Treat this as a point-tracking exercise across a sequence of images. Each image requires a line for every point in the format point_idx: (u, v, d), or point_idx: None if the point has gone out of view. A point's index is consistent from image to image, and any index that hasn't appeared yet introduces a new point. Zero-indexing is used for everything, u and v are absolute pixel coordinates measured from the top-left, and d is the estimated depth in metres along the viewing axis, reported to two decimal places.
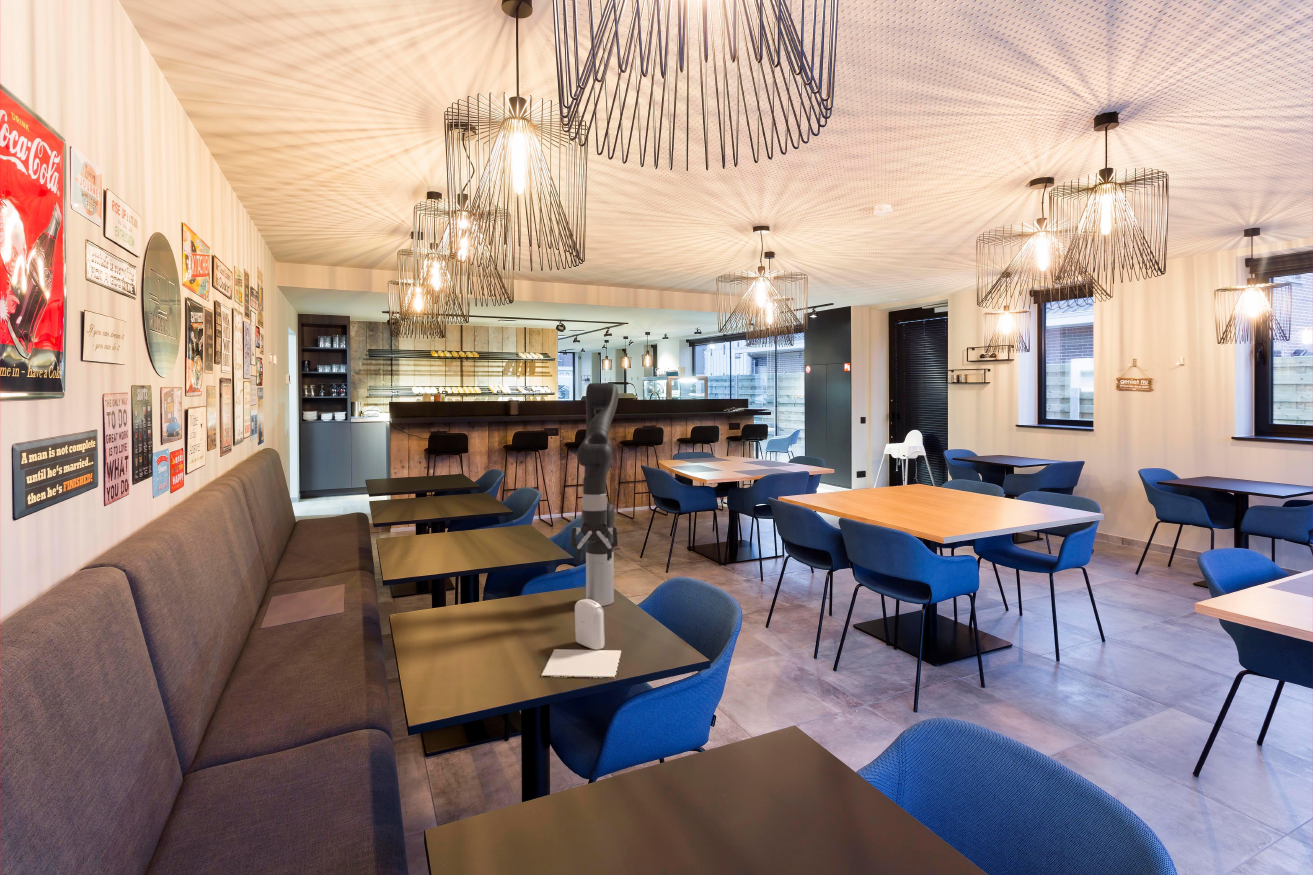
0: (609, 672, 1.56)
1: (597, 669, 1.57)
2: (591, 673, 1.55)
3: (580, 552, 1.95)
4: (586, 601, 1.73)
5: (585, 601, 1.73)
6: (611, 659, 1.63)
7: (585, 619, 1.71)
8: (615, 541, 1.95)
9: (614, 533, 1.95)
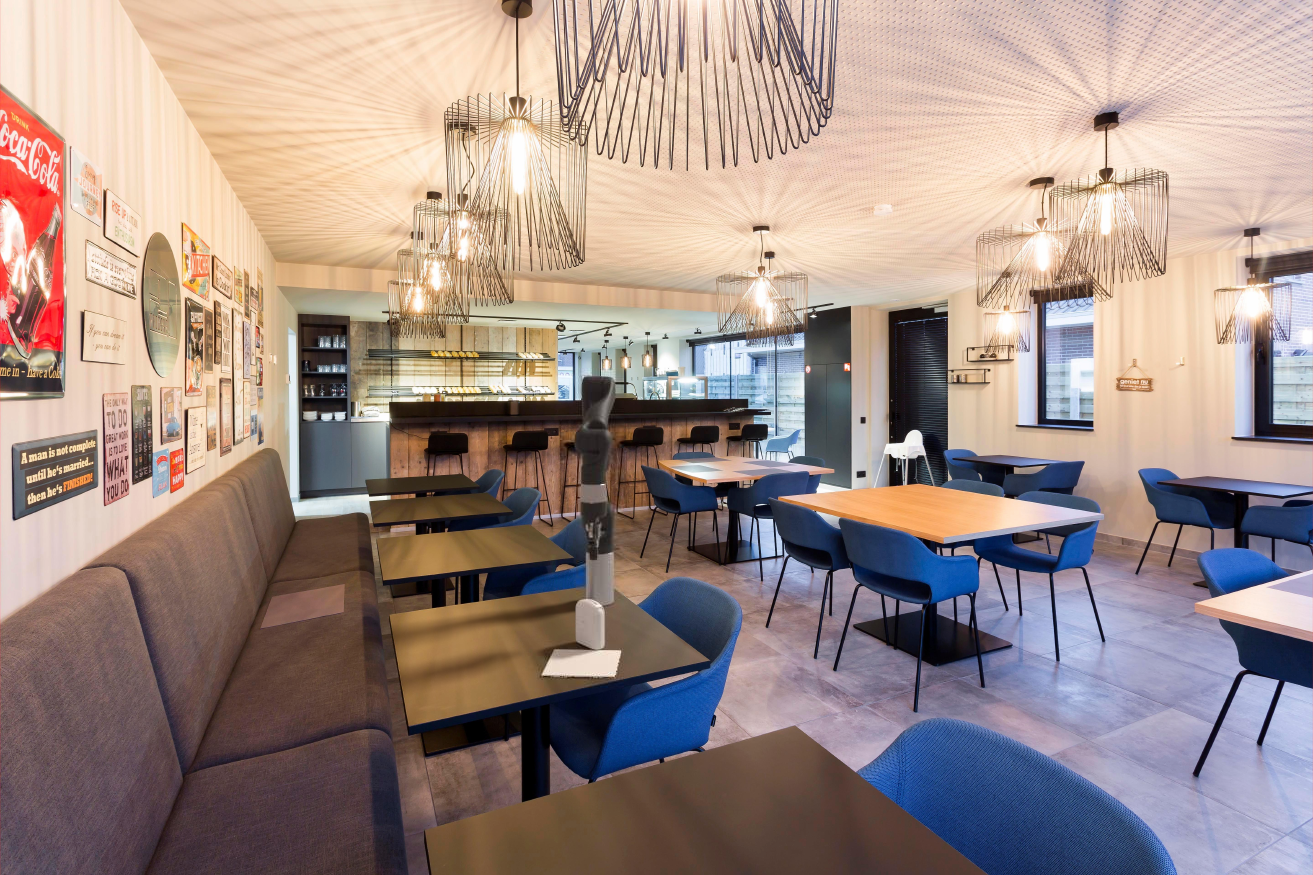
0: (609, 672, 1.56)
1: (597, 669, 1.57)
2: (591, 673, 1.55)
3: (597, 550, 1.80)
4: (587, 601, 1.73)
5: (586, 601, 1.73)
6: (611, 659, 1.63)
7: (586, 619, 1.71)
8: (599, 537, 1.83)
9: None
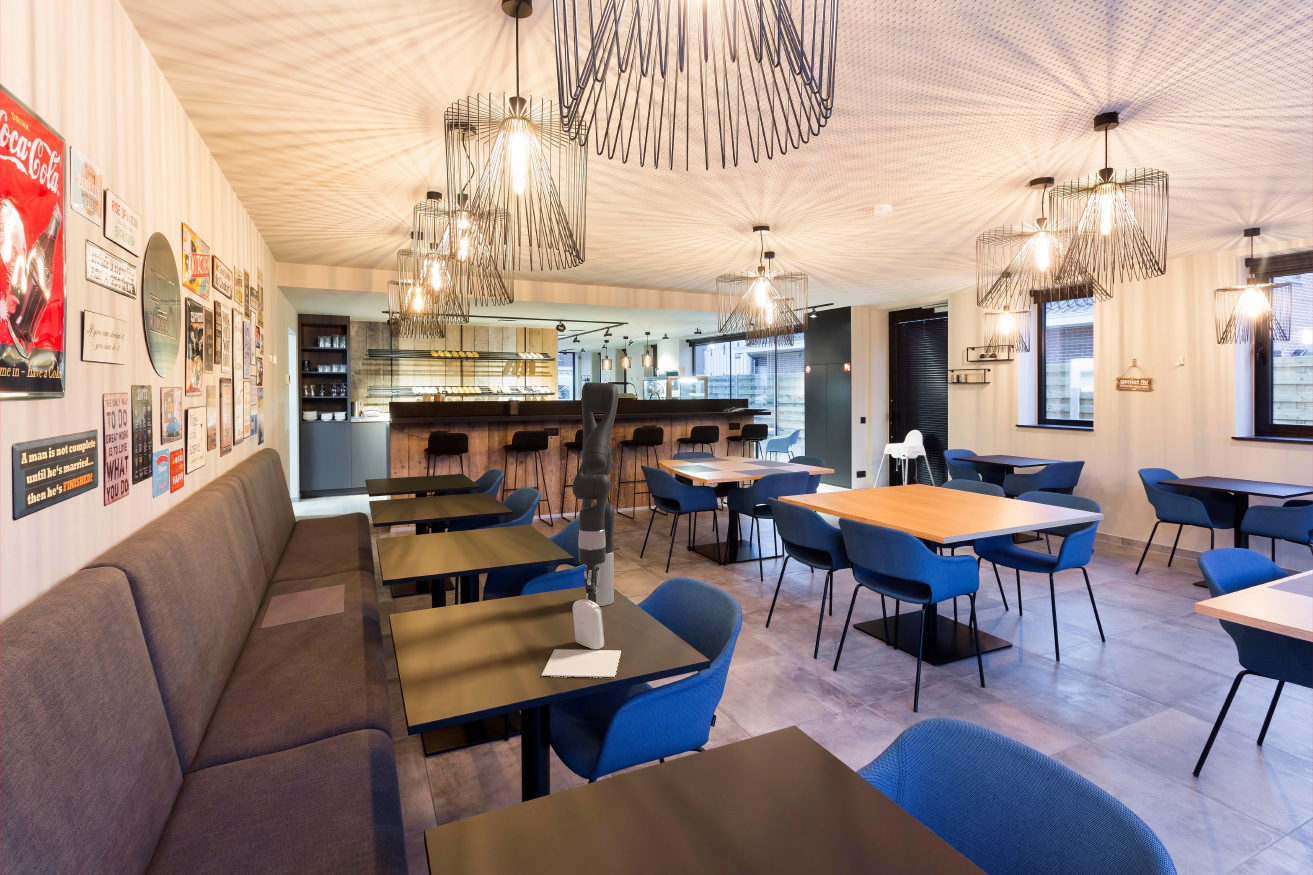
0: (609, 672, 1.56)
1: (597, 669, 1.57)
2: (591, 673, 1.55)
3: (595, 596, 1.77)
4: (583, 601, 1.72)
5: (582, 601, 1.73)
6: (611, 659, 1.63)
7: (584, 620, 1.71)
8: None
9: None
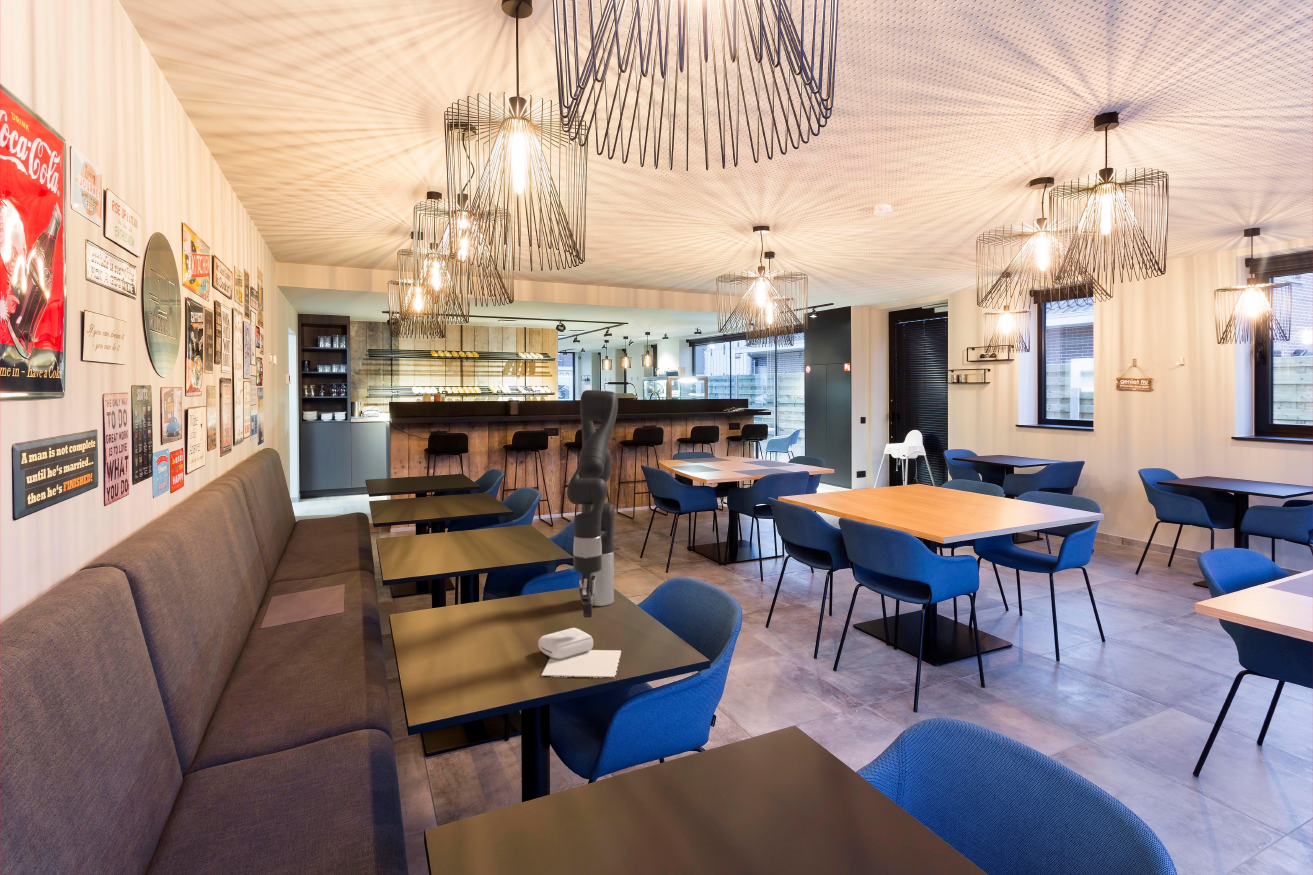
0: (609, 672, 1.56)
1: (597, 669, 1.57)
2: (591, 673, 1.55)
3: (591, 606, 1.69)
4: (544, 652, 1.65)
5: (543, 652, 1.65)
6: (611, 659, 1.63)
7: None
8: None
9: None
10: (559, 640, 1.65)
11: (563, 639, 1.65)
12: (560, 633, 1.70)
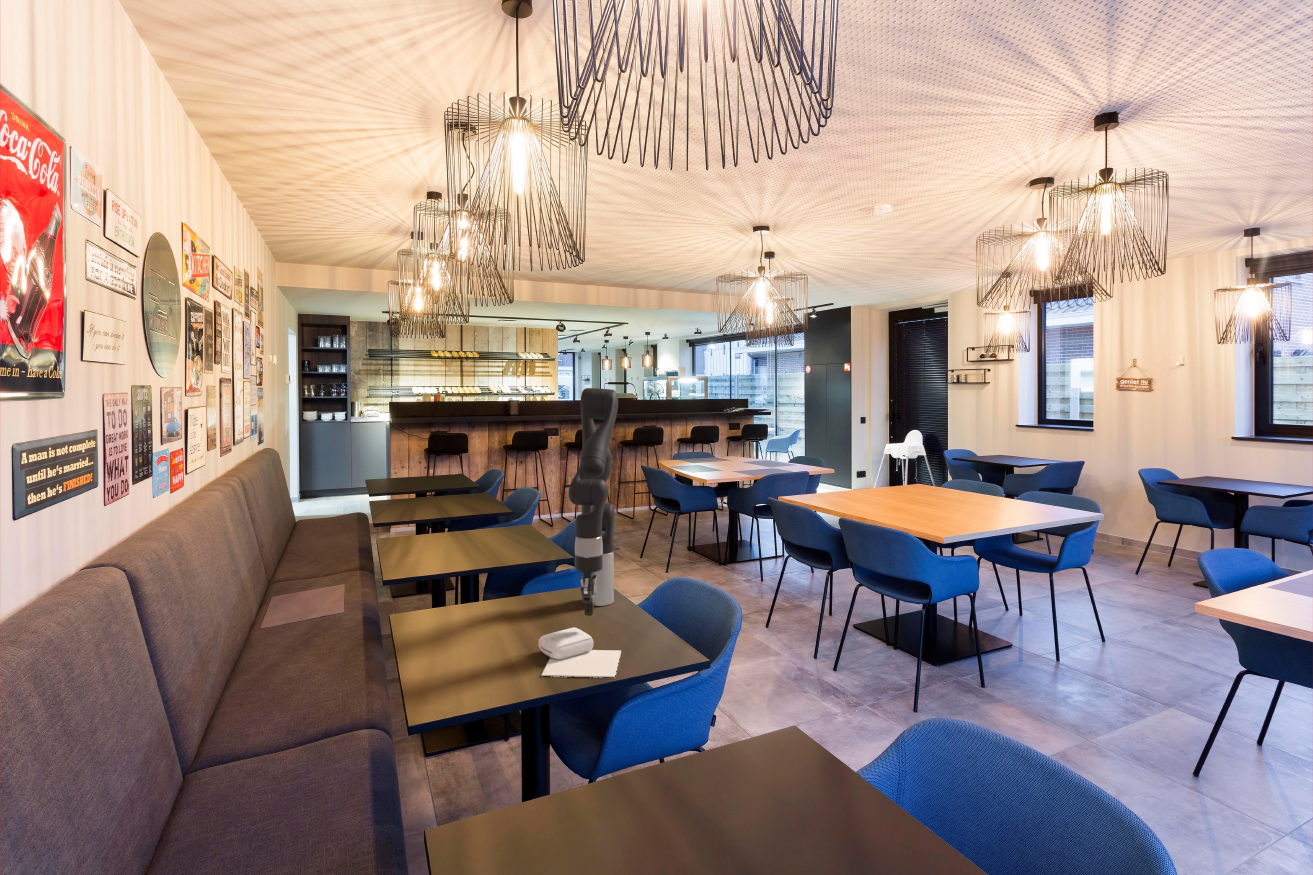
0: (609, 672, 1.56)
1: (597, 669, 1.57)
2: (591, 673, 1.55)
3: (592, 605, 1.72)
4: (544, 652, 1.65)
5: (543, 652, 1.65)
6: (611, 659, 1.63)
7: None
8: None
9: None
10: (560, 641, 1.65)
11: (564, 640, 1.65)
12: (560, 633, 1.70)
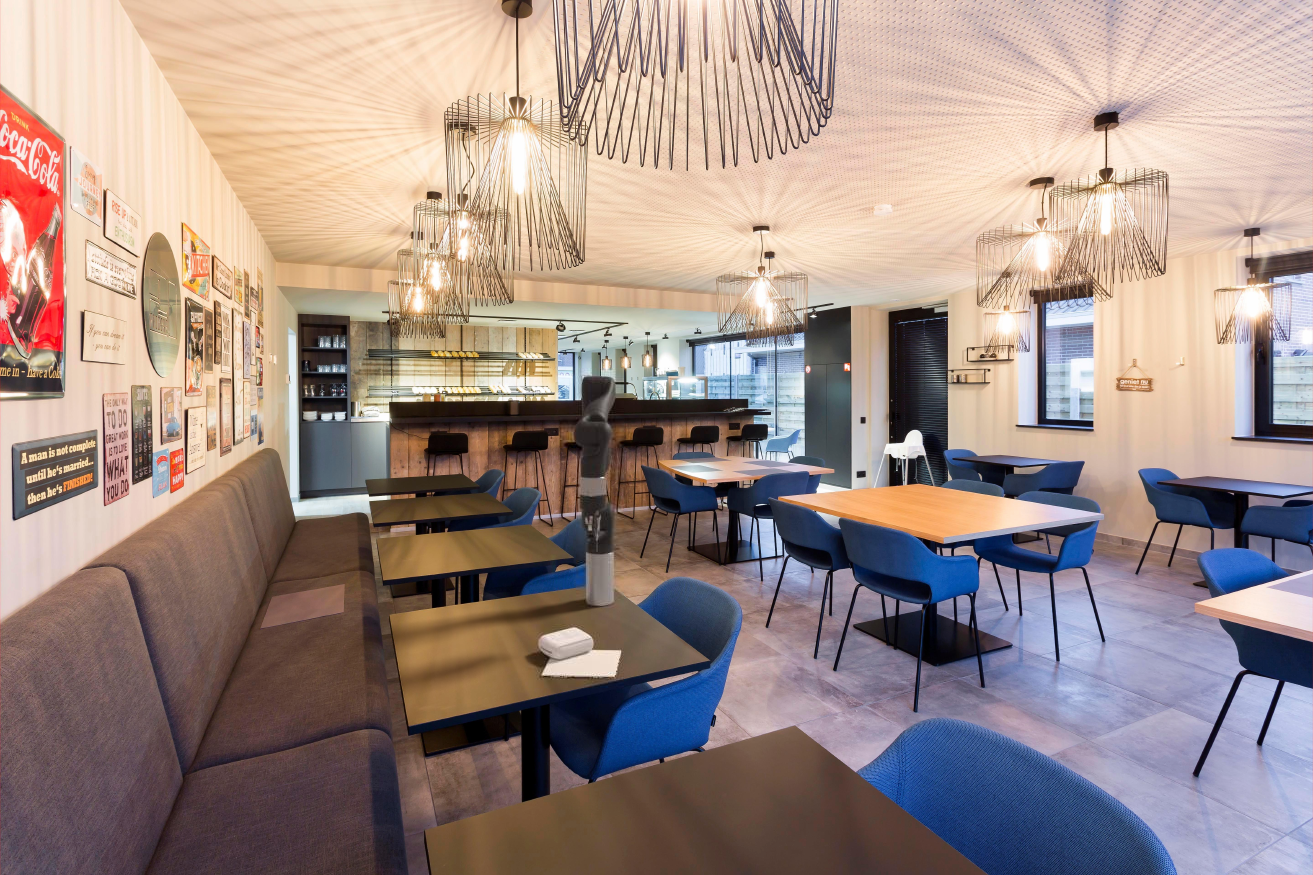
0: (609, 672, 1.56)
1: (597, 669, 1.57)
2: (591, 673, 1.55)
3: (596, 543, 1.79)
4: (544, 652, 1.65)
5: (543, 652, 1.65)
6: (611, 659, 1.63)
7: None
8: (598, 530, 1.82)
9: None
10: (560, 641, 1.65)
11: (564, 640, 1.65)
12: (560, 633, 1.70)
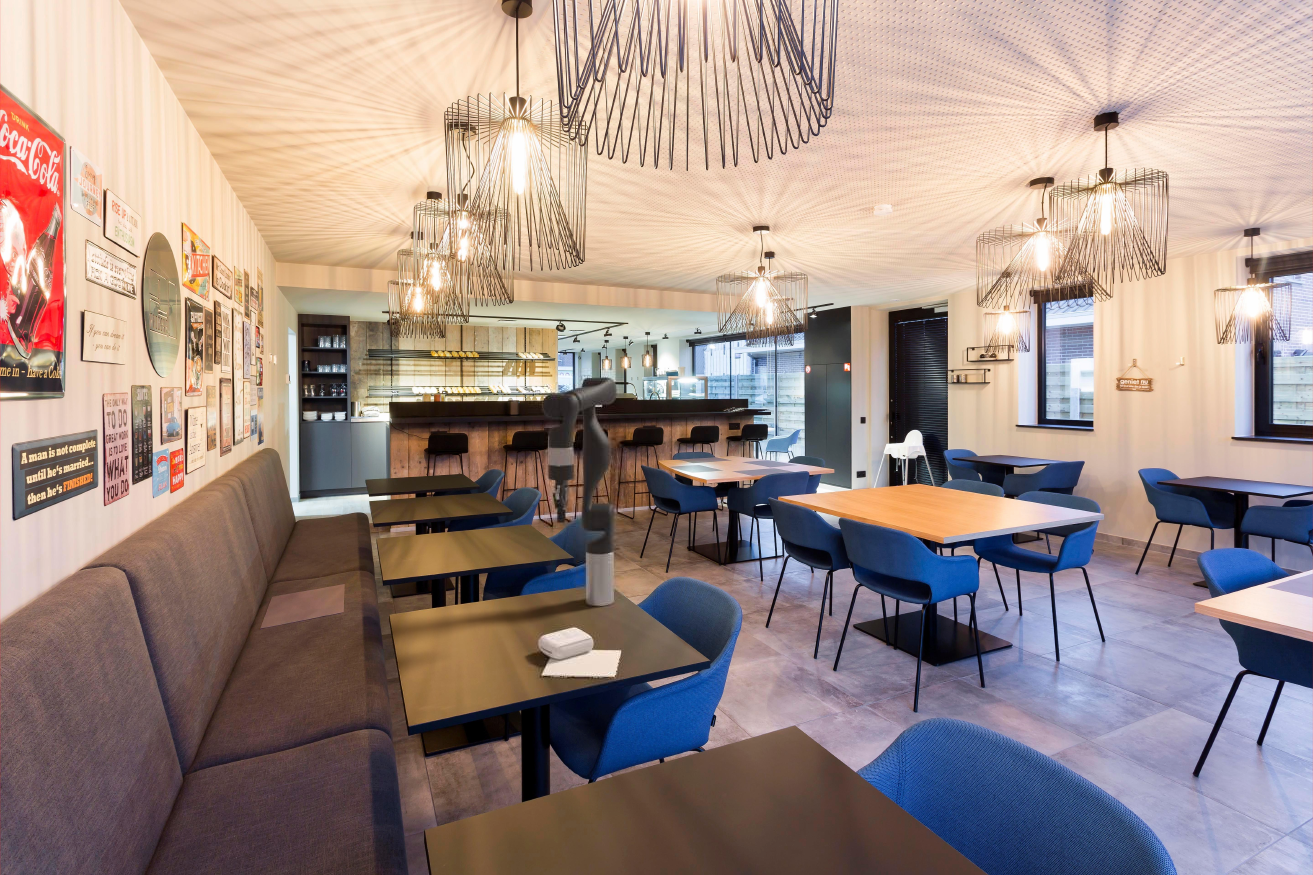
0: (609, 672, 1.56)
1: (597, 669, 1.57)
2: (591, 673, 1.55)
3: (564, 513, 1.84)
4: (544, 652, 1.65)
5: (543, 652, 1.65)
6: (611, 659, 1.63)
7: None
8: (567, 500, 1.87)
9: (568, 493, 1.88)
10: (560, 641, 1.65)
11: (564, 640, 1.65)
12: (560, 633, 1.70)
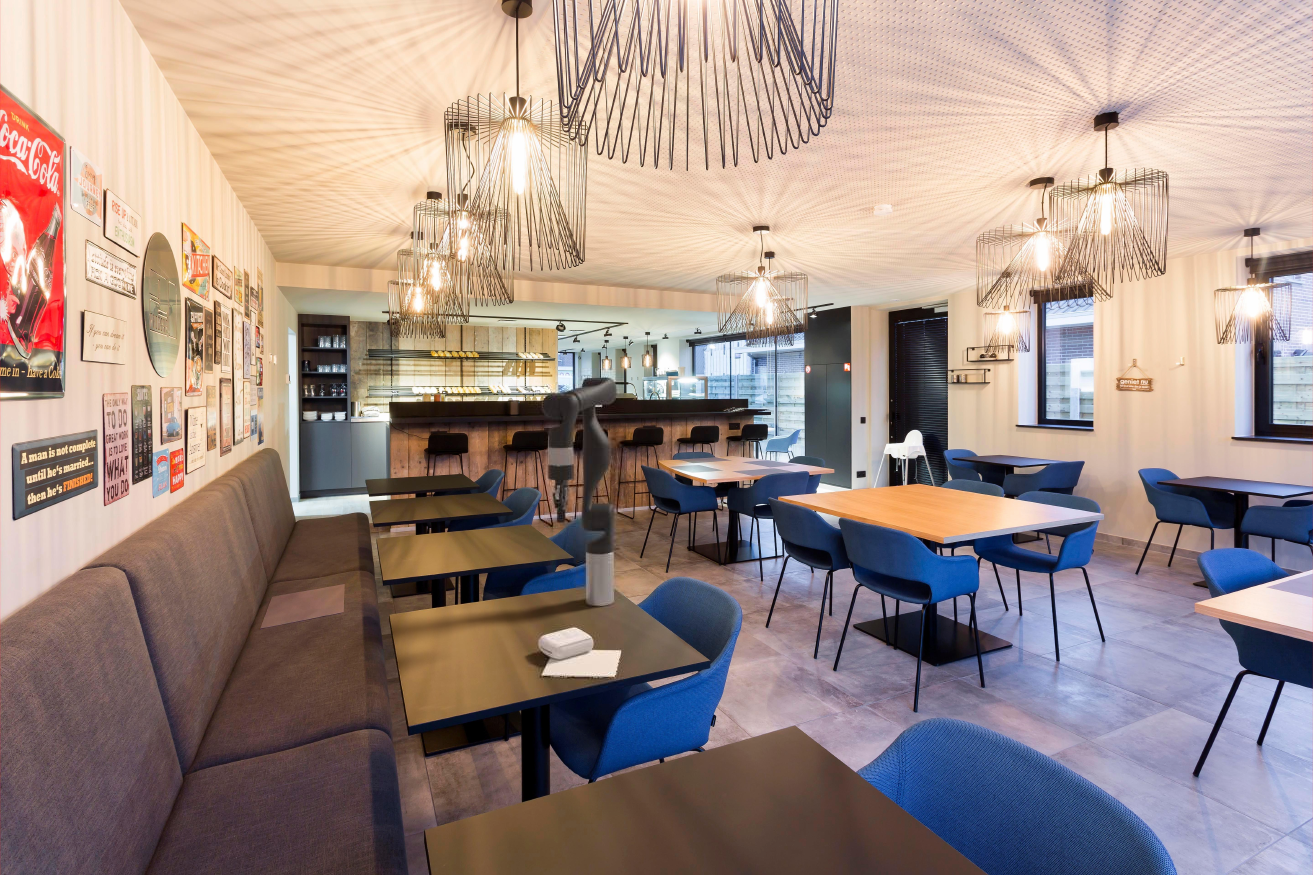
0: (609, 672, 1.56)
1: (597, 669, 1.57)
2: (591, 673, 1.55)
3: (564, 513, 1.84)
4: (544, 652, 1.65)
5: (543, 652, 1.65)
6: (611, 659, 1.63)
7: None
8: (567, 500, 1.87)
9: (568, 493, 1.88)
10: (560, 641, 1.65)
11: (564, 640, 1.65)
12: (560, 633, 1.70)
